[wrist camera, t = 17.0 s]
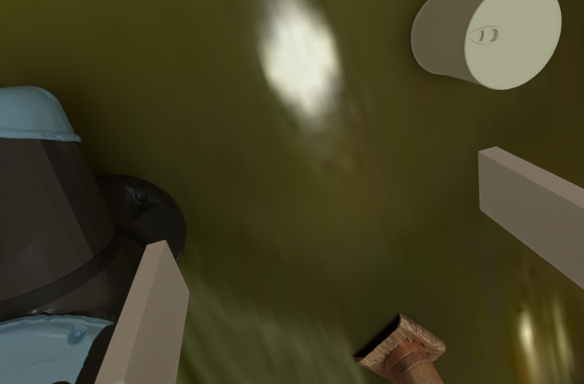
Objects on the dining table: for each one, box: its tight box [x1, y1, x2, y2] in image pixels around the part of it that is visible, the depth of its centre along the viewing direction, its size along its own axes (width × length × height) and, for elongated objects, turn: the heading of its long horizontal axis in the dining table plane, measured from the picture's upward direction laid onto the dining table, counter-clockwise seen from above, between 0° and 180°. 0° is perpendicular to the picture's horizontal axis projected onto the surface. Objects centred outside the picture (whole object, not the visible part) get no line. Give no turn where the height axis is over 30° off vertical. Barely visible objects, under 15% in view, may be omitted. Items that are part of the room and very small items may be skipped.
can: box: [411, 0, 561, 90], centre depth 39 cm, size 9×9×12 cm
